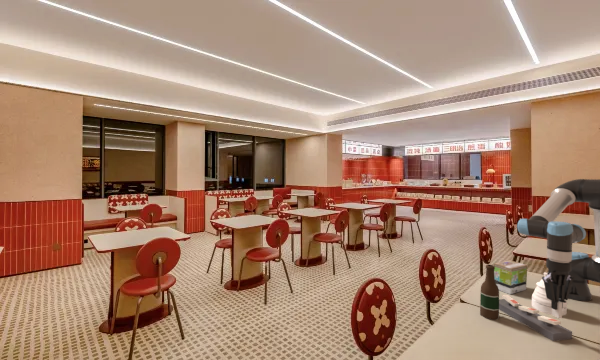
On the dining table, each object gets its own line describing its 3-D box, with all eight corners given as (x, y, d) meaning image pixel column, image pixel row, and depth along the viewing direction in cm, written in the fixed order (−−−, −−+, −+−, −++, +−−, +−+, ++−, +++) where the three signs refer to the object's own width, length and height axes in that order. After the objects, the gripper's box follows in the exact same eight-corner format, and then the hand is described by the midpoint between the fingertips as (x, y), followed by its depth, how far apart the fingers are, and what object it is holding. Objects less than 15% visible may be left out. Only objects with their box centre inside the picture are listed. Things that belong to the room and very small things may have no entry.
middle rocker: (518, 309, 130) (518, 306, 130) (524, 308, 130) (523, 305, 131) (533, 313, 123) (532, 310, 123) (539, 313, 124) (538, 309, 124)
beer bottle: (502, 321, 127) (504, 269, 126) (483, 319, 128) (484, 267, 127) (494, 312, 134) (495, 263, 133) (476, 310, 136) (477, 262, 135)
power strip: (492, 305, 141) (493, 298, 140) (508, 304, 142) (508, 296, 142) (553, 341, 112) (553, 331, 112) (571, 338, 113) (572, 329, 113)
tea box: (511, 295, 152) (512, 268, 152) (492, 288, 161) (492, 262, 161) (527, 290, 159) (527, 264, 158) (507, 283, 168) (508, 259, 167)
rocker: (501, 296, 139) (502, 294, 139) (506, 296, 139) (507, 294, 139) (514, 306, 132) (514, 304, 132) (519, 306, 133) (520, 303, 132)
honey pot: (555, 317, 129) (556, 279, 129) (525, 305, 141) (526, 270, 141) (573, 313, 133) (574, 276, 133) (542, 300, 146) (543, 266, 145)
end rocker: (538, 319, 121) (537, 316, 121) (543, 318, 121) (543, 315, 122) (554, 324, 114) (554, 321, 114) (560, 324, 115) (560, 320, 115)
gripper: (562, 256, 118) (560, 310, 119) (535, 257, 116) (534, 313, 117) (582, 262, 111) (580, 320, 112) (554, 263, 109) (552, 322, 110)
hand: (556, 316), depth 115 cm, fingers closed
